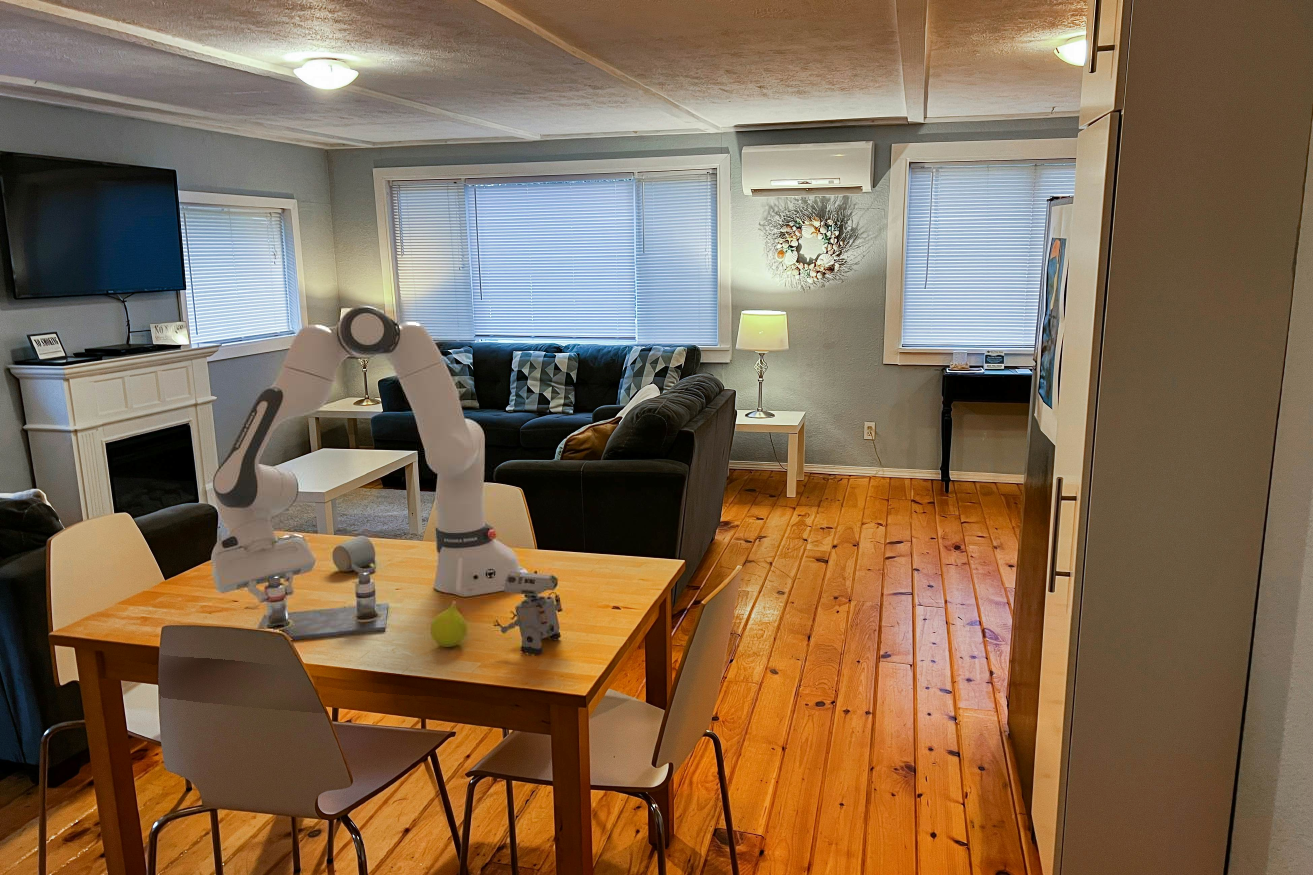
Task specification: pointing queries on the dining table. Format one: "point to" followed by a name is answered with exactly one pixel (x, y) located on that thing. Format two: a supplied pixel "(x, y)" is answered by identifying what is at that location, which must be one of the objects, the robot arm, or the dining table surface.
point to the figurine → (533, 609)
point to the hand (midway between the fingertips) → (276, 597)
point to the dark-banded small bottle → (365, 596)
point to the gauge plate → (328, 623)
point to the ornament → (448, 627)
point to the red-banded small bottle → (276, 600)
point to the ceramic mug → (355, 555)
